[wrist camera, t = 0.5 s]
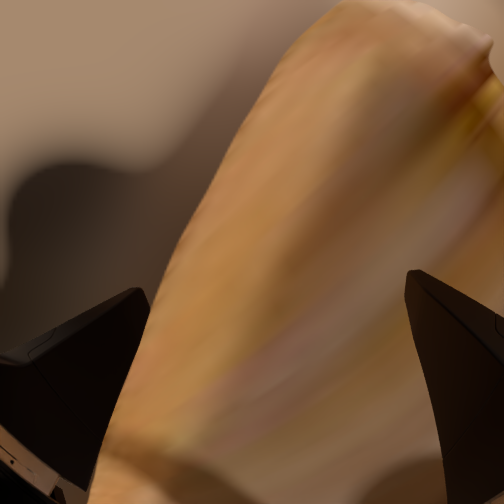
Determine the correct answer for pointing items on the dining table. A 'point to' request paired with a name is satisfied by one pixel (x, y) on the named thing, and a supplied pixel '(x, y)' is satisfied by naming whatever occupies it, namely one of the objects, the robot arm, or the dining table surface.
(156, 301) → the dining table surface
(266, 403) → the dining table surface
